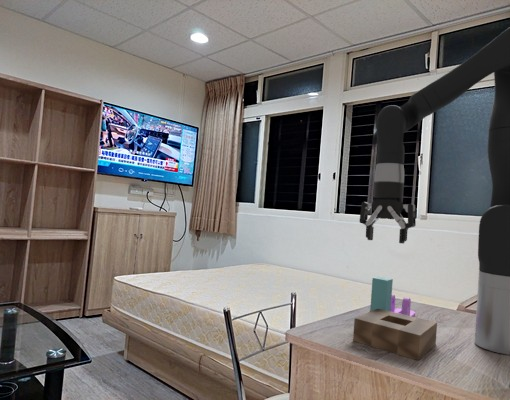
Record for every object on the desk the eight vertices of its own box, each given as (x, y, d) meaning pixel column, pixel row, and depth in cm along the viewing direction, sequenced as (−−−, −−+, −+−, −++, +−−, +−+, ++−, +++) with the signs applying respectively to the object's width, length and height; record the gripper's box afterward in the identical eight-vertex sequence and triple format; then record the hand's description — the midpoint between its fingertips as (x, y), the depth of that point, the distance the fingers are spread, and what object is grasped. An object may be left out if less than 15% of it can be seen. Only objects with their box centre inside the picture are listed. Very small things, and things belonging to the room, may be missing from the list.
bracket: (406, 325, 100) (407, 299, 100) (385, 320, 103) (386, 295, 103) (416, 316, 110) (418, 292, 110) (397, 311, 114) (399, 289, 114)
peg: (389, 324, 99) (392, 279, 99) (384, 327, 96) (387, 280, 96) (375, 320, 101) (378, 276, 102) (369, 323, 98) (372, 277, 99)
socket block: (435, 344, 85) (437, 322, 85) (418, 360, 74) (420, 335, 75) (376, 328, 94) (377, 308, 94) (353, 340, 83) (354, 318, 83)
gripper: (420, 183, 98) (417, 244, 98) (368, 182, 107) (365, 238, 107) (412, 180, 92) (408, 245, 92) (358, 180, 101) (354, 239, 101)
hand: (385, 241), depth 99 cm, fingers open, 8 cm apart
